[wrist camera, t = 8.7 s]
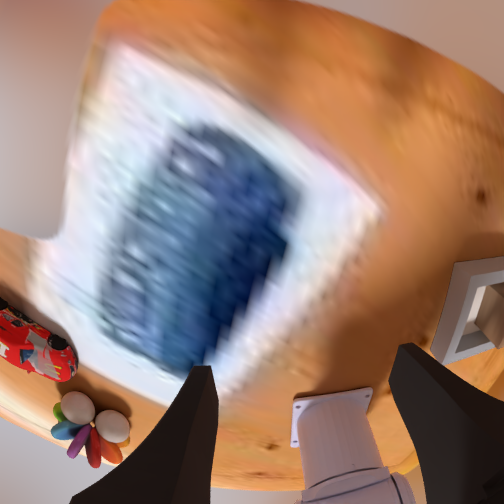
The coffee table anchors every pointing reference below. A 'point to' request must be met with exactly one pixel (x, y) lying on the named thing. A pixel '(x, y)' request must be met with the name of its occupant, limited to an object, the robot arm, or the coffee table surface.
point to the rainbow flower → (90, 429)
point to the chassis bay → (465, 310)
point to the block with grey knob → (492, 314)
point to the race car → (34, 346)
